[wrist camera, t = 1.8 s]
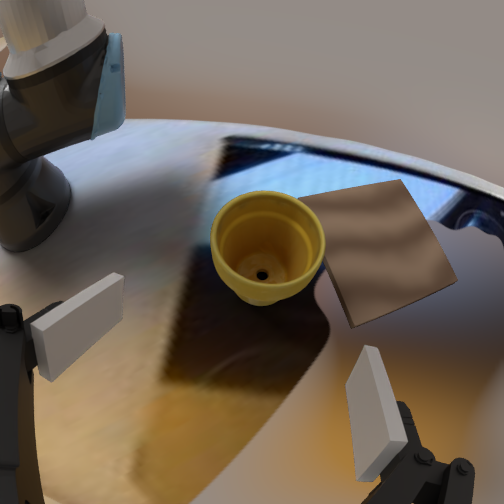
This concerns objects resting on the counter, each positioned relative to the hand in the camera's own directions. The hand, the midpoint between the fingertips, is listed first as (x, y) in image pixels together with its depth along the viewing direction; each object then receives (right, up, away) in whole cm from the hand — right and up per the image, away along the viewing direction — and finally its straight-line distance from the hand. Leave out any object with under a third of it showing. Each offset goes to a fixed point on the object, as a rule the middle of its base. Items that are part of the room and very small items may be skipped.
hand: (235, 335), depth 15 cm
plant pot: (+2, +1, +21) cm, 21 cm away
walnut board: (+18, +5, +24) cm, 30 cm away
